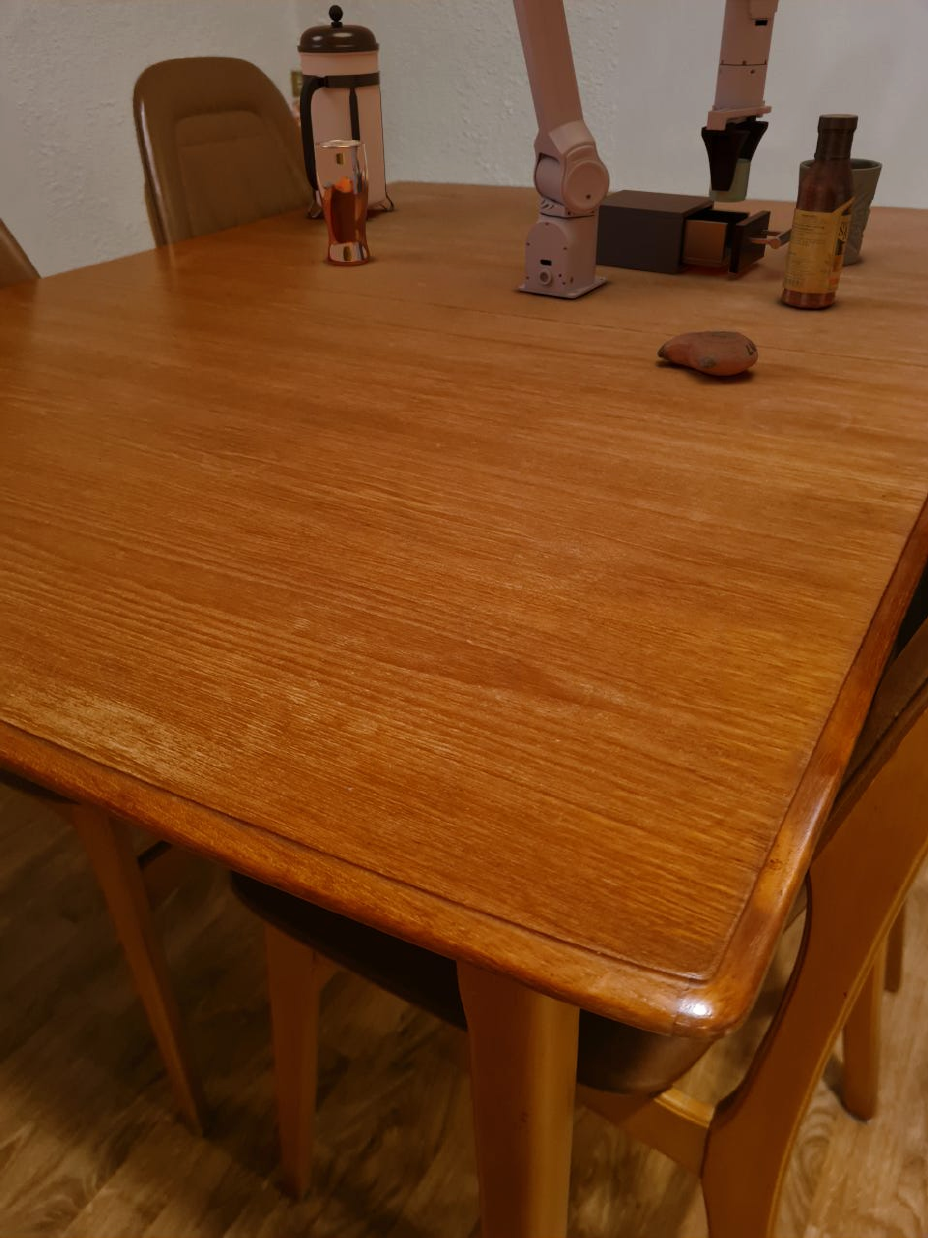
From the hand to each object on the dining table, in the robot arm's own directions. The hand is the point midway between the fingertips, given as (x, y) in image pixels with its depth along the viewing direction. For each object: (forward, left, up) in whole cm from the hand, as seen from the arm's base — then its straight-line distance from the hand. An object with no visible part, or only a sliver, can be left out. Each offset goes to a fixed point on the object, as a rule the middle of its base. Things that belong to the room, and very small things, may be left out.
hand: (727, 187), depth 121 cm
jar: (0, 0, -1) cm, 1 cm away
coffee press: (+5, +67, -10) cm, 68 cm away
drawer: (+1, 0, -9) cm, 9 cm away
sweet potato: (-38, -13, -10) cm, 41 cm away
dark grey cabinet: (+1, +11, -10) cm, 15 cm away
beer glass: (-20, +47, -10) cm, 52 cm away
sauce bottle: (-10, -15, -10) cm, 21 cm away
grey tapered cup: (+13, -10, -10) cm, 20 cm away
